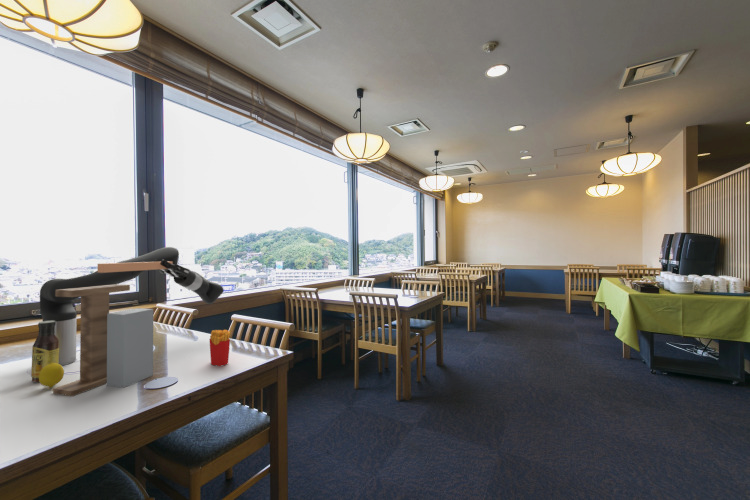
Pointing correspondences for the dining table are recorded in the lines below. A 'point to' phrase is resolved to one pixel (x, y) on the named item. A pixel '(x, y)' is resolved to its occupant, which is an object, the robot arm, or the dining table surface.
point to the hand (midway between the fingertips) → (158, 261)
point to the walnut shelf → (91, 336)
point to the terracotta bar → (130, 266)
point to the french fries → (219, 347)
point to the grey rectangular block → (129, 346)
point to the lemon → (51, 374)
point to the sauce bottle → (44, 348)
